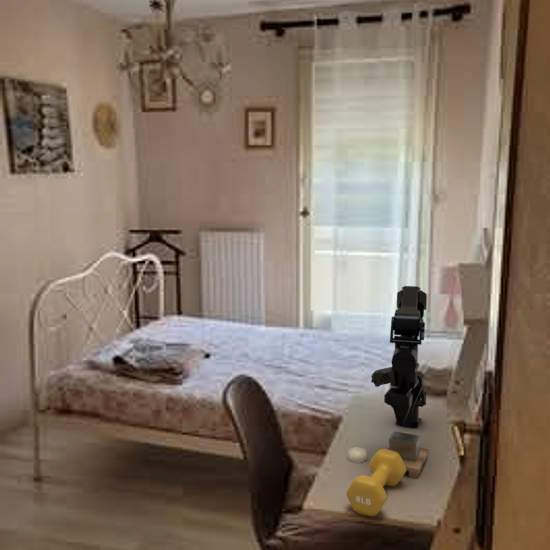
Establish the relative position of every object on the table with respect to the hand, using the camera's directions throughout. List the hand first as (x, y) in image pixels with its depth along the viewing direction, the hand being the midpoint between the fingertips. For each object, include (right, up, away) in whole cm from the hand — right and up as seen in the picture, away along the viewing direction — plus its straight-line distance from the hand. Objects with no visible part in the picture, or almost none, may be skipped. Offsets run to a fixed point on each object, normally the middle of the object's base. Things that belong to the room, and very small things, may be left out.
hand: (404, 418), depth 156 cm
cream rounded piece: (-12, -12, +4) cm, 17 cm away
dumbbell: (-10, -15, -15) cm, 23 cm away
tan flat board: (0, -12, 0) cm, 12 cm away
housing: (0, -9, 0) cm, 9 cm away
